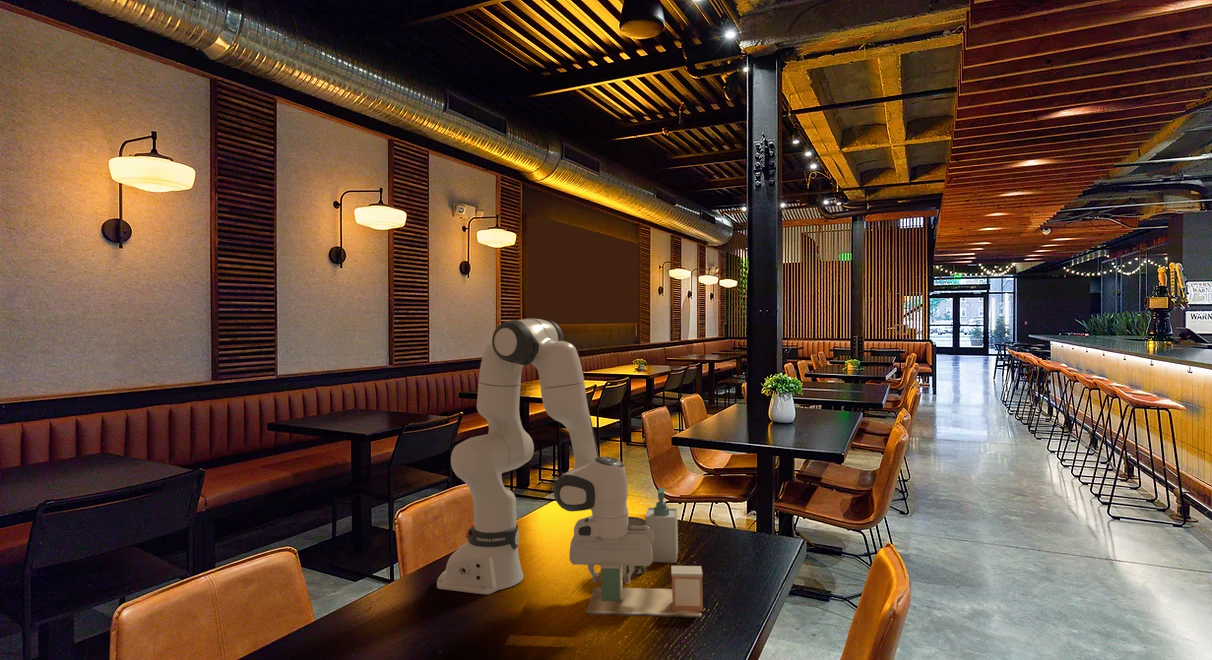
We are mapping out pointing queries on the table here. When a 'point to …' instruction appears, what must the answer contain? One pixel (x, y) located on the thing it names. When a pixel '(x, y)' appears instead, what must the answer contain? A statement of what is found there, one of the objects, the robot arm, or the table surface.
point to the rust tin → (687, 588)
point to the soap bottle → (663, 530)
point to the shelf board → (638, 603)
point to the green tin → (611, 581)
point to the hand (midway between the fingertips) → (611, 582)
